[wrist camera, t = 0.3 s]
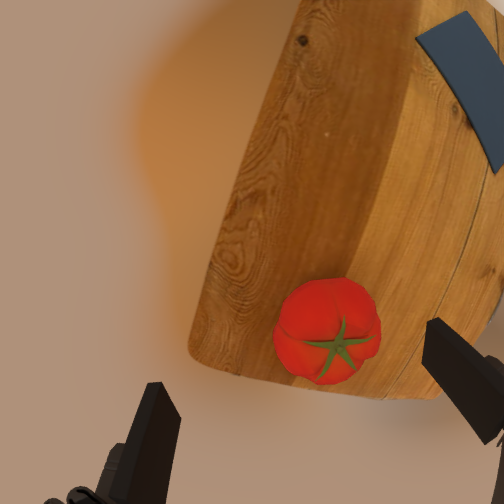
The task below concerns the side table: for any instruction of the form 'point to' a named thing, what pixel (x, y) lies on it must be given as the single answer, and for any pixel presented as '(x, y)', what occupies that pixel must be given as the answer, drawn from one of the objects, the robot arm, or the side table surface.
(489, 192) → the side table surface
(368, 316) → the tomato
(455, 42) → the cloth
